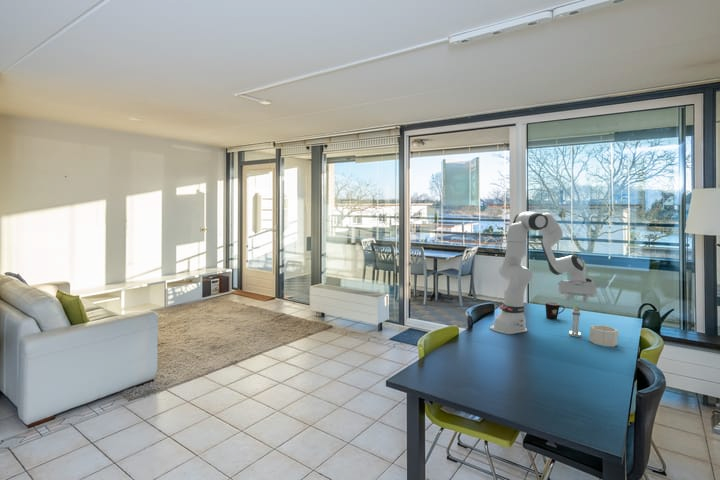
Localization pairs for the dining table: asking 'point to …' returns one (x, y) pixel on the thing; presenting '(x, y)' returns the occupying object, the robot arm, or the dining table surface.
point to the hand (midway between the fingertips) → (576, 300)
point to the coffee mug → (552, 310)
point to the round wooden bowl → (603, 335)
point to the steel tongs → (576, 314)
